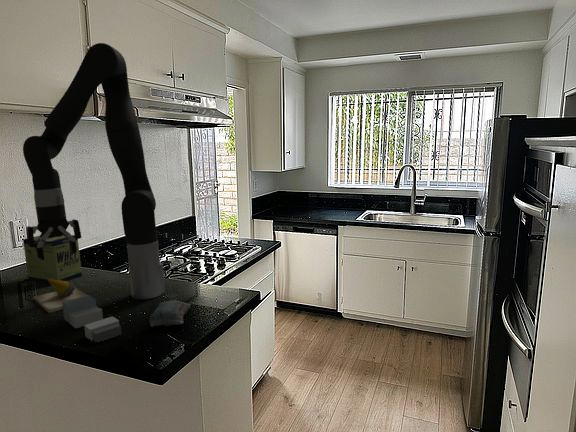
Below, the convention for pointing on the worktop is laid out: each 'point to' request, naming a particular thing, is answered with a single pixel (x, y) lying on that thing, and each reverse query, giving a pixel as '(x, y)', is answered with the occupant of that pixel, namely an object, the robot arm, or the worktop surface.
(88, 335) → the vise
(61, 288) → the yellow tapered piece
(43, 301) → the birch board
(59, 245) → the protein box
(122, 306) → the worktop surface
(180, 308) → the packaged food
